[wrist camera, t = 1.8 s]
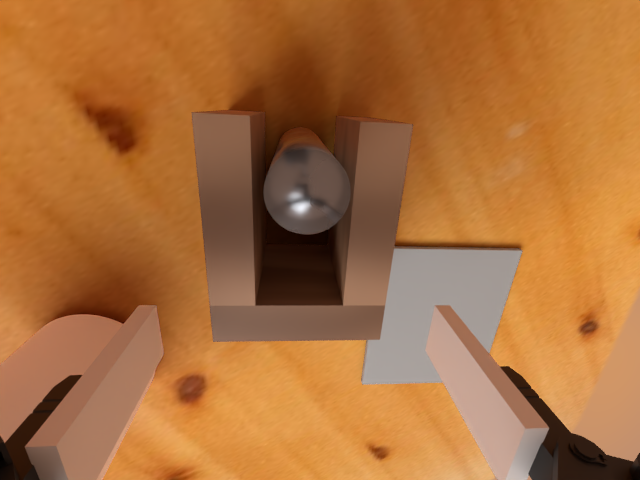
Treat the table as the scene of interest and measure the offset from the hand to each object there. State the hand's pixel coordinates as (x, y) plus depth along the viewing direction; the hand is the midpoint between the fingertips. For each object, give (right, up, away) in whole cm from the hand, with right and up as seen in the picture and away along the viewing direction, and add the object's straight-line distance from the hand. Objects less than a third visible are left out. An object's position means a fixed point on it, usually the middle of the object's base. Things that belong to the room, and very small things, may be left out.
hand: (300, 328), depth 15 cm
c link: (0, +7, +5) cm, 8 cm away
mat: (+10, -2, +9) cm, 13 cm away
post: (0, +9, +3) cm, 10 cm away
